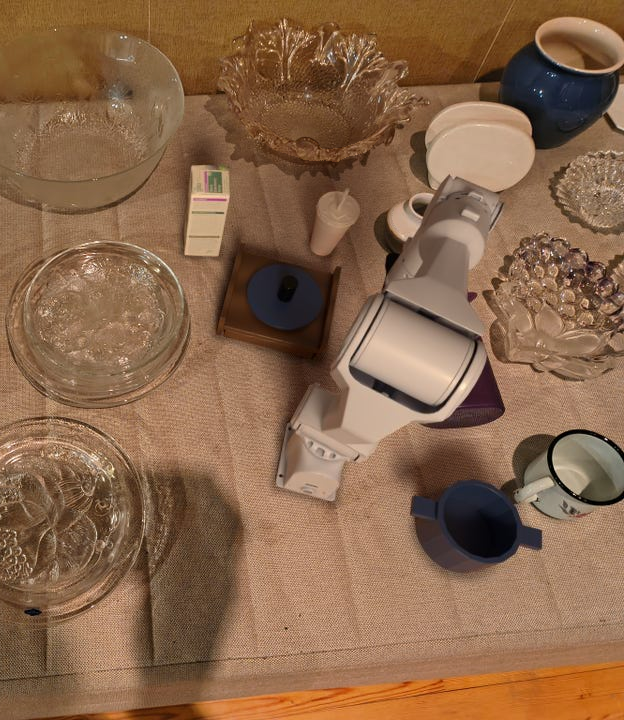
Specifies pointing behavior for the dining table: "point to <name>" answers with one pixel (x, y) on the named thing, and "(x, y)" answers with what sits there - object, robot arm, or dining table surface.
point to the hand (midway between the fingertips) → (385, 322)
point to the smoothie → (333, 220)
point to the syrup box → (206, 210)
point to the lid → (284, 297)
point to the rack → (252, 330)
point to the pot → (471, 527)
